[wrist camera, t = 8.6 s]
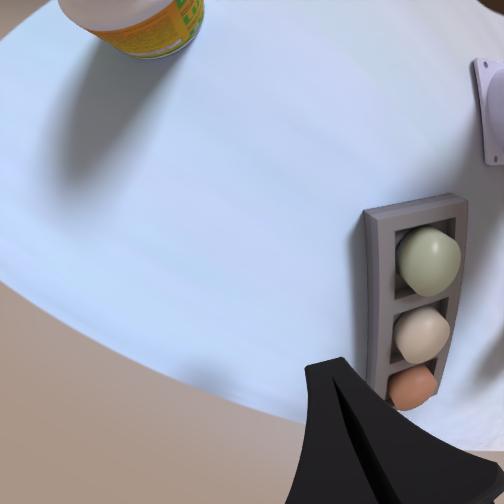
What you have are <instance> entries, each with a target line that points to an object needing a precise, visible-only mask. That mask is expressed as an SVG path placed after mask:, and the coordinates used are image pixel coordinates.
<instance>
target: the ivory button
mask: <svg viewBox="0 0 504 504" xmlns="http://www.w3.org/2000/svg"><path fill="white" fill-rule="evenodd" d="M449 334H450V326H449V324H448V322H447V321H446V320H445V319H444V318H443V317H442V316H441V315H440V314H439V312H438V311H437V310H436V309H435V308H434V307H433V306H431V305H429V304H426V305H423V306H420V307H417V308H414V309H411V310H408V311H406V312H405V313H404V314H403V315H402V316H401V317H400V318H399V320H398V321H397V323H396V325H395V327H394V329H393V341H394V343H395V344H396V346H397V347H398V349H399V350H400V352H401V353H402V355H403V356H404V358H405V359H406V361H407V362H409V363H412V364H419V363H423V362H425V361H427V360H429V359H431V358H432V357H434V356H435V355H436V354H437V353H438V352H439V351H440V350H441V349H442V348H443V347H444V345H445V344H446V342H447V340H448V337H449Z"/></svg>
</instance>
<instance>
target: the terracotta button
mask: <svg viewBox="0 0 504 504" xmlns="http://www.w3.org/2000/svg"><path fill="white" fill-rule="evenodd" d="M436 386H437V381H436V379H435V378H434V377H433V375H432V374H431V372H430V371H429V369H428V368H427V366H426V365H425V364H424V363H420V364H418V365H415V366H413V367H410V368H407V369H404V370H402V371H399V372H396V373H395V374H394V375H393V376H392V377H391V379H390V380H389V382H388V385H387V391H388V393H389V395H390V397H391V399H392V400H393V402H394V404H395V406H396V408H397V409H398V410H401V411H407V410H411V409H413V408H416V407H418V406H419V405H421V404H423V403H424V402H425V401H426V400H428V399H429V398H430V396H431V395H432V394H433V393H434V391H435V389H436Z"/></svg>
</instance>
